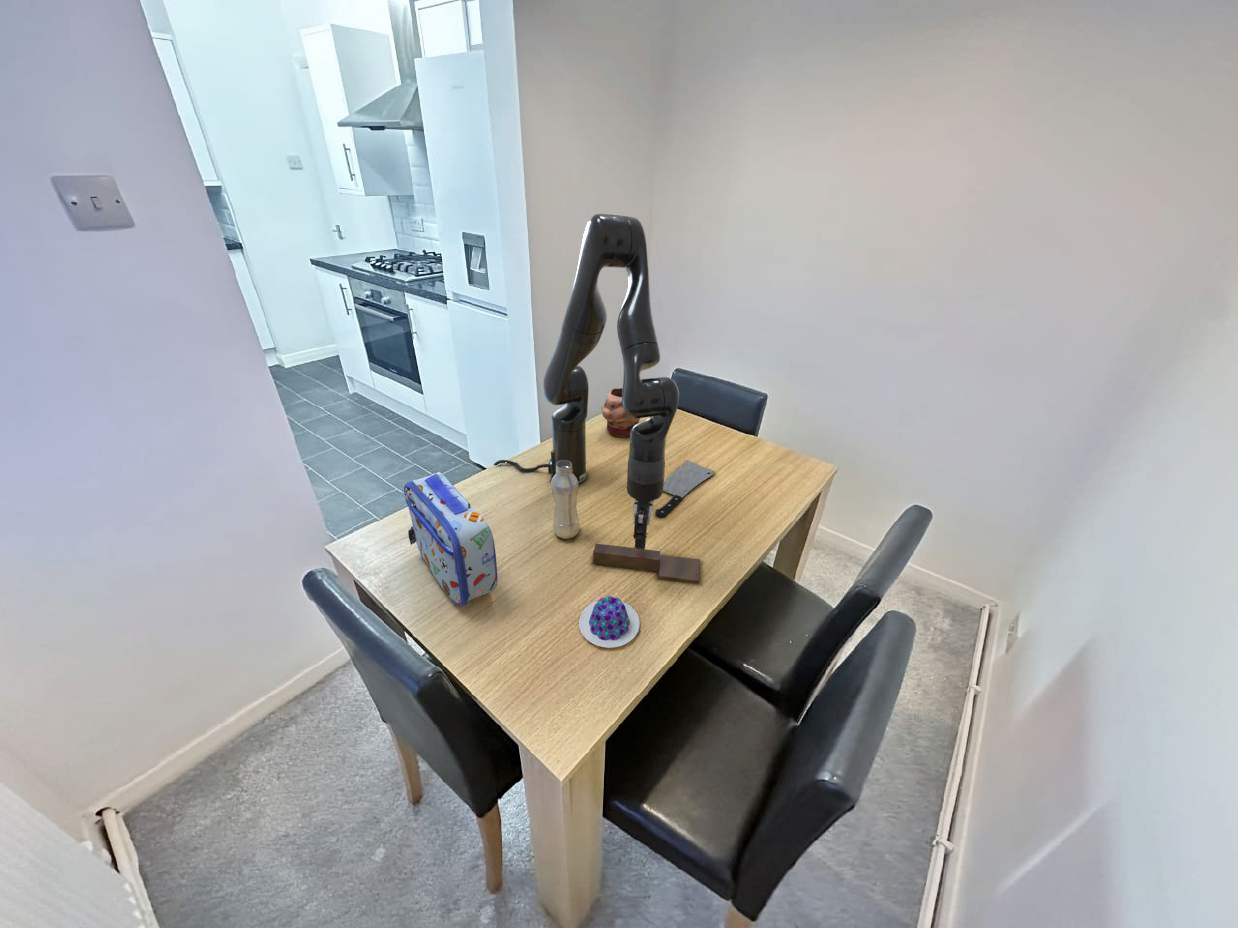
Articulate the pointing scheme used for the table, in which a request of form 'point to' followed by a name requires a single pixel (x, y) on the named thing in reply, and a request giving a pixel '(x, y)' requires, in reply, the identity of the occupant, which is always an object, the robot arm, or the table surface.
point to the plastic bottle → (565, 500)
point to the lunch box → (451, 538)
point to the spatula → (648, 562)
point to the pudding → (609, 622)
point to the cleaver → (682, 484)
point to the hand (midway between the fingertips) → (642, 535)
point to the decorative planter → (617, 415)
